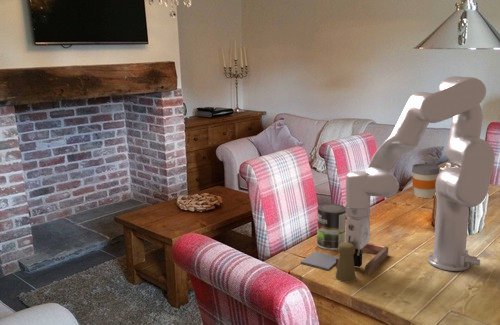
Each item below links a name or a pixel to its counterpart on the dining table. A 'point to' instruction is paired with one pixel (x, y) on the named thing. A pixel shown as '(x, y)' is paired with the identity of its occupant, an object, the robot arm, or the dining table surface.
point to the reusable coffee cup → (424, 179)
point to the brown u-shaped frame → (381, 255)
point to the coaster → (320, 260)
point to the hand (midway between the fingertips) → (356, 265)
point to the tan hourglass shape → (346, 262)
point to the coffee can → (330, 226)
